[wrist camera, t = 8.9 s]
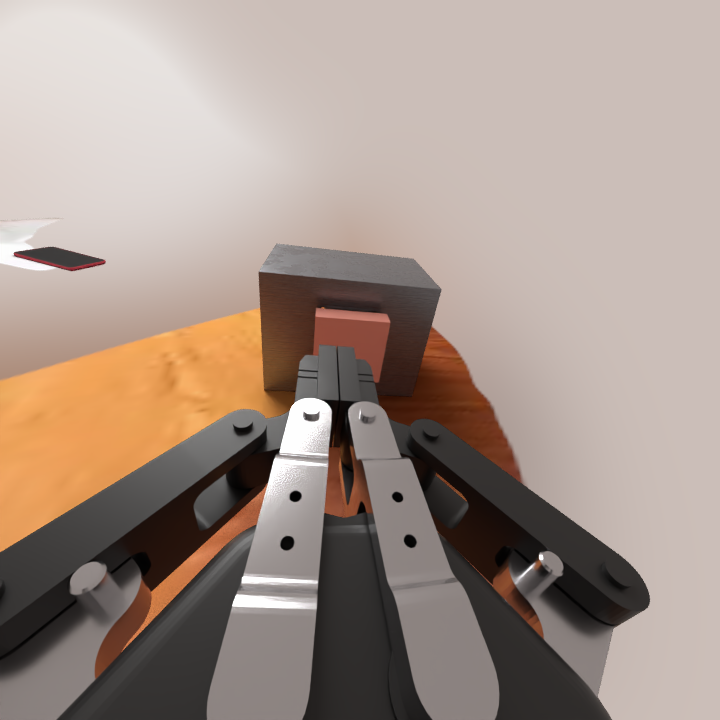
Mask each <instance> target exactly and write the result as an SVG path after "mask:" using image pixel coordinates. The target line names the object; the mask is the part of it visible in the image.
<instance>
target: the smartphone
mask: <svg viewBox="0 0 720 720" xmlns="http://www.w3.org/2000/svg"><path fill="white" fill-rule="evenodd" d="M14 255H15V256H17V257H21V258H25V259H29V260H32V261H36V262H40V263H44V264H48V265H51V266H55V267H58V268H61V269H64V270H68V271H77V270H82V269H86V268H91V267H95V266H100V265H104V264H105V262H106V261H105V260H103V259H99V258H95V257H91V256H87V255H83V254H79V253H76V252H72V251H68V250H64V249H60V248H56V247H45V248H39V249H32V250H25V251H18V252H14Z"/></svg>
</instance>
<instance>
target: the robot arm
mask: <svg viewBox="0 0 720 720" xmlns="http://www.w3.org/2000/svg"><path fill="white" fill-rule="evenodd" d="M332 441H333V447H340V460H339V472H340V480H341V488H342V496H343V504H344V514H345V518H342V517H338V516H334V515H330V514H326V513H324V508H325V496H326V484H327V473H328V451H329V447H332ZM436 472H437V473H438V474H439V475H440V476H441V477H442V478H444V479H445V480H446V481H447V482H448V483H450V484H451V485H452V486H453V487H454V488H455V489H457V490H458V491H459V492H460V493H461V494H462V495H463V496H464V497H465V498H466V500H467V502H466V501H465V500H464V499H463V498H461V497H460V496H459V495H458V494H457V493H456V492H454V491H453V490H452V489H451V488H450V487H449V486H447V485H446V484H445V483H444V482H443V481H441V480H440V479H439V478H438V477H437V476H436ZM267 483H268V485H267V489H266V493H265V497H264V500H263V504H262V508H261V512H260V515H259V519H258V523H257V525H254V526H252V527H250V528H248V529H247V530H245V531H243V532H242V533H240V534H239V535H237V536H236V537H235V538H233V539H232V540H231V541H230V542H229V543H227V544H226V545H225V546H224V547H223V548H222V549H221V550H220V551H219V552H218V553H217V554H216V555H215V557H214V558H213V559H212V560H211V561H210V562H209V563H208V564H207V565H206V566H205V567H204V568H203V569H202V570H201V571H200V572H199V573H198V574H197V575H196V576H195V577H194V578H193V579H192V580H191V581H190V582H189V583H188V584H187V585H186V586H185V587H184V588H183V590H182V591H181V592H180V593H179V594H178V595H177V596H176V597H175V598H174V599H173V600H172V601H171V602H170V603H169V604H168V605H167V606H166V607H165V608H164V609H163V610H162V611H161V612H160V613H159V614H158V615H157V616H156V617H155V618H154V619H153V620H152V621H151V623H150V624H149V625H148V626H147V627H146V628H145V629H144V630H143V631H142V632H141V633H140V634H139V635H138V636H137V637H136V638H135V639H134V640H133V641H132V642H131V643H130V644H129V645H128V646H127V647H126V648H125V649H124V650H123V648H124V647H125V645H126V644H127V642H128V641H129V640H130V639H131V637H132V636H133V635H134V634H135V633H136V632H137V630H138V629H139V628H140V627H141V625H142V624H143V622H144V620H145V619H146V617H147V614H148V612H149V609H150V605H151V598H152V597H151V591H152V590H154V589H155V588H156V587H157V586H158V585H159V584H160V583H161V582H162V581H163V580H164V579H166V578H167V577H168V576H169V575H170V574H171V573H172V572H173V571H174V570H175V569H177V568H178V567H179V566H180V565H181V564H182V563H183V562H184V561H185V560H186V559H187V558H189V557H190V556H191V555H192V554H193V553H194V552H195V551H196V550H197V549H198V548H200V547H201V546H202V545H203V544H204V543H205V542H206V541H207V540H208V539H209V538H211V537H212V536H213V535H214V534H215V533H216V532H217V531H218V530H219V529H220V528H221V527H223V526H224V525H225V524H226V523H227V522H228V521H229V520H230V519H231V518H232V517H234V516H235V515H236V514H237V513H238V512H239V511H240V510H241V509H242V508H243V507H244V506H246V505H247V504H248V503H249V502H250V501H251V500H252V499H253V498H254V497H255V496H257V495H258V494H259V493H260V492H261V491H262V490H263V489H264V487H265V486H266V484H267ZM437 531H438V532H439V533H440V534H441V535H440V534H439V533H438V532H437ZM458 551H459V552H460V553H461V554H462V555H463V556H464V557H465V558H466V559H467V560H468V561H469V562H470V563H471V564H472V565H473V566H474V567H475V568H476V569H477V570H478V571H479V572H480V573H481V574H482V575H483V576H484V577H485V578H486V579H487V580H488V581H489V582H490V583H491V584H492V585H493V587H492V586H491V585H490V584H489V583H488V582H487V581H486V579H485V578H484V577H483V576H482V575H481V574H480V573H479V572H478V571H477V570H476V569H475V568H474V567H473V566H472V565H471V564H470V563H469V562H468V561H467V560H466V559H465V558H464V557H463V556H462V555H461V554H460V553H459V552H458ZM649 602H650V596H649V592H648V589H647V587H646V585H645V583H644V581H643V579H642V578H641V576H640V575H639V574H638V572H637V571H636V570H635V569H634V568H633V567H632V566H631V565H630V564H629V563H628V562H627V561H626V560H625V559H624V558H622V557H621V556H620V555H619V554H617V553H616V552H615V551H613V550H612V549H610V548H609V547H608V546H606V545H605V544H604V543H602V542H601V541H599V540H598V539H597V538H595V537H594V536H593V535H591V534H590V533H589V532H587V531H586V530H584V529H583V528H582V527H580V526H579V525H577V524H576V523H575V522H574V521H572V520H571V519H569V518H568V517H567V516H565V515H564V514H563V513H561V512H560V511H558V510H557V509H556V508H554V507H553V506H551V505H550V504H549V503H547V502H546V501H545V500H543V499H542V498H540V497H539V496H538V495H537V494H535V493H534V492H533V491H531V490H530V489H528V488H527V487H526V486H524V485H523V484H522V483H520V482H519V481H517V480H516V479H515V478H513V477H512V476H511V475H509V474H508V473H507V472H505V471H504V470H502V469H501V468H500V467H498V466H497V465H496V464H494V463H493V462H491V461H490V460H489V459H487V458H486V457H485V456H483V455H482V454H481V453H479V452H478V451H476V450H475V449H474V448H472V447H471V446H470V445H468V444H467V443H466V442H464V441H463V440H461V439H460V438H459V437H457V436H456V435H455V434H453V433H452V432H450V431H449V430H448V429H446V428H445V427H444V426H442V425H441V424H439V423H438V422H436V421H433V420H429V419H418V420H416V421H414V422H413V423H412V424H411V426H407V425H404V424H401V423H398V422H395V421H393V420H391V419H389V418H388V417H387V414H386V412H385V411H384V409H383V408H382V407H380V406H379V402H378V397H377V392H376V387H375V383H374V378H373V373H372V368H371V366H370V365H369V364H368V362H367V361H366V360H364V359H356V357H355V350H354V347H344V346H337V348H336V346H332V345H321V344H319V350H318V356H314V355H305V356H304V357H303V359H302V360H301V361H300V364H299V372H298V380H297V387H296V395H295V402H294V405H293V406H292V407H291V409H290V410H289V411H288V412H287V413H285V414H283V415H280V416H277V417H273V418H267V419H266V418H265V417H264V415H262V414H261V413H260V412H258V411H255V410H250V409H242V410H237V411H234V412H231V413H229V414H228V415H226V416H224V417H223V418H221V419H219V420H218V421H216V422H214V423H213V424H211V425H209V426H208V427H206V428H204V429H203V430H201V431H200V432H198V433H196V434H195V435H193V436H191V437H190V438H188V439H186V440H185V441H183V442H181V443H180V444H178V445H176V446H175V447H173V448H172V449H170V450H168V451H167V452H165V453H163V454H162V455H160V456H158V457H157V458H155V459H153V460H152V461H150V462H148V463H147V464H145V465H144V466H142V467H140V468H139V469H137V470H135V471H134V472H132V473H130V474H129V475H127V476H125V477H124V478H122V479H120V480H119V481H117V482H116V483H114V484H112V485H111V486H109V487H107V488H106V489H104V490H102V491H101V492H99V493H97V494H96V495H94V496H92V497H91V498H89V499H88V500H86V501H84V502H83V503H81V504H79V505H78V506H76V507H74V508H73V509H71V510H69V511H68V512H66V513H64V514H63V515H61V516H60V517H58V518H56V519H55V520H53V521H51V522H50V523H48V524H46V525H45V526H43V527H41V528H40V529H38V530H36V531H35V532H33V533H32V534H30V535H28V536H27V537H25V538H23V539H22V540H20V541H18V542H17V543H15V544H13V545H12V546H10V547H8V548H7V549H5V550H4V551H2V552H0V720H612V719H611V717H610V716H609V714H608V712H607V711H606V709H605V708H604V706H603V705H602V703H601V702H600V700H599V699H598V698H597V697H598V693H599V688H600V684H601V679H602V675H603V671H604V667H605V662H606V658H607V654H608V650H609V645H610V641H611V636H612V632H613V629H614V628H615V627H617V626H618V625H620V624H621V623H623V622H625V621H627V620H628V619H630V618H632V617H633V616H635V615H637V614H638V613H640V612H642V611H644V610H645V609H646V608H647V607H648V606H649ZM122 650H123V651H122ZM121 651H122V652H121Z"/></svg>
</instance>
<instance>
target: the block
mask: <svg viewBox="0 0 720 720" xmlns="http://www.w3.org/2000/svg"><path fill="white" fill-rule="evenodd" d="M259 290H260V311H261V333H262V354H263V376H264V390H276V391H296V387H297V380H298V372H299V364H300V361H301V360H302V359H303V357H304V356H305V355H313V350H314V332H315V315H316V308H321V307H328V308H340V309H352V310H363V311H372V312H373V313H383V314H387V315H388V317H389V320H390V322H391V323H390V328H389V333H388V338H387V343H386V348H385V353H384V358H383V363H382V368H381V373H380V379H379V382H374V383H375V387H376V392H377V395H388V396H410V397H412V394H413V391H414V387H415V383H416V380H417V376H418V373H419V369H420V365H421V362H422V358H423V355H424V351H425V347H426V344H427V340H428V336H429V333H430V329H431V326H432V322H433V318H434V315H435V311H436V307H437V304H438V300H439V297H440V293H441V288H440V287H439V286H438V285H437V284H436V283H435V282H434V281H433V280H432V278H430V276H429V275H428V274H427V273H426V272H425V271H424V270H423V269H422V267H420V265H419V264H418V263H417V262H416V261H415V260H414V259H409V258H400V257H392V256H382V255H374V254H365V253H356V252H346V251H338V250H329V249H319V248H311V247H302V246H292V245H284V244H276V245H275V247H274V248H273V250H272V252H271V253H270V255H269V256H268V258H267V259H266V261H265V263H264V264H263V266H262V267H261V269H260V271H259Z"/></svg>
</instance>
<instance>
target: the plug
mask: <svg viewBox="0 0 720 720" xmlns="http://www.w3.org/2000/svg"><path fill="white" fill-rule="evenodd" d="M390 323H391V322H390V320H389V317H388V315H387V314H383V313H373V312H372V311H363V310H352V309H340V308H328V307H324V309H323V308H316V315H315V332H314V350H313V355H314V356H318V350H319V344H321V345H332V346H336V348H337V346H344V347H354V350H355V357H356V359H364V360H366V361H367V362H368V364H369V365H370V366H371V368H372V373H373V378H374V382H379V379H380V373H381V368H382V363H383V358H384V353H385V348H386V343H387V338H388V333H389V328H390Z"/></svg>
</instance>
